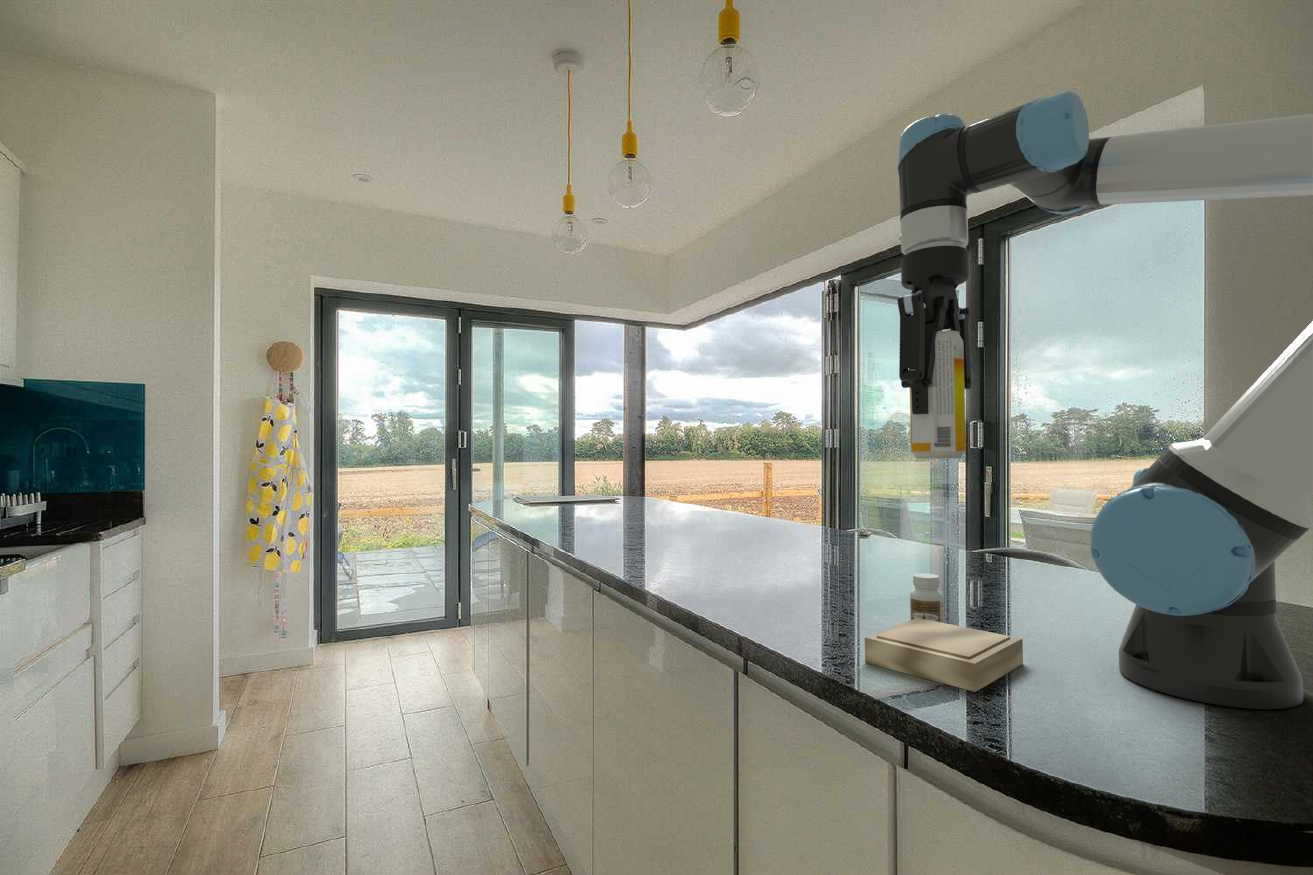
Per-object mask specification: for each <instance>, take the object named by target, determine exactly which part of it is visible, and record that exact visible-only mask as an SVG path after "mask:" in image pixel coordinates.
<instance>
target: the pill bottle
mask: <svg viewBox="0 0 1313 875" xmlns="http://www.w3.org/2000/svg"><path fill="white" fill-rule="evenodd" d="M912 584H913V586H914V588H913V589H912V590H910V592H909V603H910V604H909V609H910V610H909V611H910V614H909V615H910V617H909V618H910V620H909V621H911V620H914V619H916V618H921V619H926V620H931V621H936V622H941V623H945V613H944V612H945V609H944V608H945V606H944V605H945V604H944V600H945V599H944V593H943V591H941V590H939V588H940V584H941V583H940V576H939V575H938V574H933V573H925V572H924V573H923V572H921V573H913V575H912Z"/></svg>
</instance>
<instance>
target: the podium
mask: <svg viewBox="0 0 1313 875" xmlns="http://www.w3.org/2000/svg"><path fill="white" fill-rule="evenodd" d="M1023 642H1024V641H1023V638H1021V637H1017V636H1012V635H1011V636H1010V635H1005V634H1000V633H996V632H991V631H985V630H981V629H975V628H971V627H965V626H961V625H957V624H956V625H955V624H949V623H947V622H944V623H941V622H936V621H931V620H926V619H921V618H916V619H914V620H909V621H906V622H902V623H901V624H898V625H895V626H893V627H890V628H887V629H885V630H884V629H883V630H881V631H879V632H876V633H873V634H871V635H868V636H864V656H865V657H864V663H866V664H870V665H873V666H878V667H881V668H884V669H888V670H892V671H895V672H900V673H903V674H906V675H911V676H914V677H918V678H921V679H926V680H929V681H933V682H937V683H941V684H944V685H948V686H952V687H955V688H960V689H963V690H966V691H970V692H974V693H976V692H977V691H980V690H981V689H983V688H984V687H986V686H988V685H990V684H991V683H994V682H995V681H997V680H998V679H999V678H1002V677H1004V676H1005V675H1007V674H1008V673H1010V672H1012V671H1013V670H1015V669H1017V668H1019V667H1021V666H1023V665H1024V655H1023V654H1024V652H1023V651H1024V649H1023V647H1024V646H1023Z"/></svg>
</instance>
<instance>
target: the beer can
mask: <svg viewBox="0 0 1313 875" xmlns="http://www.w3.org/2000/svg"><path fill="white" fill-rule="evenodd" d="M944 330H945V329H944ZM928 387H936V396H937V438H938V443H912V411H911V387H910V388H909V412H910V414H909V415H910V417H909V418H910V452H911V453H912V454H913V455H914V456H915V460H916V459H917V460H918V459H920V460H921V459H923V460H926V459H929V460H932V459H933V460H935V459H936V460H938V459H939V460H940V459H941V460H942V459H943V460H944V459H945V460H946V459H948V460H949V459H962V456H963V455H964V454H965V452H967V440H966V439H967V435H966V434H967V433H966V432H967V431H966V398H965V397H966V396H965V394H966V392H965V391H966V389H965V386H964V346H963V340H962V338H961V336H960V333H959V332H958V331H949V330H945V331H938V332H937V333H936V338H935V363H934V371H933V378H932V384H931V385H930V386H928Z"/></svg>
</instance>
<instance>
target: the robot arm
mask: <svg viewBox="0 0 1313 875" xmlns="http://www.w3.org/2000/svg"><path fill="white" fill-rule="evenodd" d="M898 144H899V147H898V148H899V150H898V163H897V174H898V179H899V180H898V181H899V183H898V184H899V204H900V205H899V209H900V234H899V235H898V240H899V241H900V252H901V254H903V257H902V258H901V260H900V273H901V274H900V275H901V278H900V280H901V281H900V282H901V283H900V284H901V285H902V287H903V288H904V289H906V290H909V291H911V293H910V294H906V295H901V296H898V297H897V306H898V313H899V362H898V363H899V368H898V370H899V372H898V373H899V375H898V376H899V379H900V381H901V382H900V385H901V388H903V389H907V388H908V389H910V387H911V411H912V443H938V438H937V396H936V387H928V386H930V385H931V384H932V378H933V371H934V363H935V338H936V333H937V332H938V331H945V330H949V331H958V332H959V333H960V336H961V338H962V340H963V346H964V386H965V390H970V389H971V388H972V373H971V372H972V370H971V368H972V366H971V353H970V352H971V350H970V334H969V333H970V332H969V330H970V329H969V321H970V312H971V310H970V308H969V306H965V307H964V306H963V307H960V306H959V300H958V295H957V291H956V289H957V287H958V286H959V285H962V284H964V283H965V282H967V281H968V279H969V277H970V273H969V272H970V269H969V268H970V267H969V251H968V250H967V249H966V248H965V247H967V246H968V244H969V243H970V242H969V224H968V223H969V221H968V220H969V218H968V196H969V195H972V194H978V193H981V192H985V191H989V190H992V189H996V188H998V187H1003V186H1006V185H1010V186H1011V187H1012V188H1014V189H1015V190H1016V191H1018V192H1019V193H1021V194H1022V195H1023V196H1025V197H1027V199H1029V200H1030V201H1031V202H1032V203H1033V204H1034V205H1036V207H1038V208H1040V209H1041V210H1043V211H1046V212H1049V213H1052V214H1056V215H1069V214H1070V215H1071V214H1074V213H1077V212H1079V211H1081V210H1084V209H1085V208H1088V207H1090V206H1103V205H1105V206H1106V205H1122V204H1123V205H1125V204H1147V203H1148V204H1149V203H1151V204H1152V203H1171V202H1173V203H1174V202H1188V201H1189V202H1190V201H1194V202H1195V201H1213V200H1215V201H1216V200H1217V201H1218V200H1235V199H1237V200H1238V199H1257V198H1259V199H1260V198H1277V197H1278V198H1280V197H1285V198H1286V197H1302V196H1303V197H1304V196H1306V197H1308V196H1313V113H1308V114H1300V115H1290V116H1283V117H1281V116H1280V117H1272V118H1265V119H1255V120H1246V121H1237V122H1229V123H1228V122H1227V123H1219V124H1210V125H1202V126H1201V125H1200V126H1192V127H1184V128H1174V129H1167V130H1158V131H1157V130H1156V131H1147V132H1141V133H1140V132H1139V133H1132V134H1131V133H1130V134H1123V135H1122V134H1120V135H1113V136H1106V137H1096V138H1090V128H1089V120H1088V115H1087V112H1086V108H1085V107H1084V102H1083V100H1082V98H1081V97H1080V95H1078V94H1077V93H1076V92H1074V91H1062V92H1059V93H1055V94H1052V95H1049V96H1046V97H1039V98H1037V99H1033V100H1030V101H1029V102H1027V103H1026V104H1023V105H1020V106H1017V107H1014V108H1012V109H1010V110H1006V111H1004V112H1002V113H1001V112H1000V113H999V114H997V115H994V116H991V117H989V118H986V119H983V120H981V121H979V122H976V123H973V124H971V125H967V126H966V125H965V122H964V120H963V119H962V118H961V117H960V116H958V115H955V114H949V113H940V114H936V115H935V116H925V117H923V118H920V119H917V120H916V121H913V122H912V123H911V124H909V125H908V126H907V127H906V128H905V129H904V130H903V132H902V134H901V135H900V138H899V143H898ZM1133 475H1134V476H1133V478H1132V480H1133V481H1132V486H1131V487H1129V489H1127V490H1125V491H1121V492H1119V493H1117V495H1116V496H1113V497H1111V498H1110V499H1108V500H1107V502H1105V503H1104V505H1103V506H1102V507H1101V509H1100V510H1099V511H1098V514H1096V517H1095V519H1094V521H1093V523H1092V525H1091V526H1092V527H1091V531H1090V536H1089V546H1090V550H1091V556H1092V559H1093V561H1094V564H1095V566H1096V568H1097V570H1098V572H1099V573H1100V575H1101V577H1102V578H1103V579H1104V580H1105V582H1106V583H1107V584H1108V585H1109V586H1110V587H1111V588H1112V589H1113V590H1114V591H1115V592H1117V593H1118V594H1119V595H1120V596H1121V597H1124V598H1125V600H1128V602H1129V601H1130V602H1131V603H1133V604H1135V606H1134V609H1133V611H1132V614H1131V617H1130V619H1129V622H1128V624H1127V627H1126V629H1125V632H1124V635H1123V638H1122V641H1121V642H1120V646H1119V648H1118V670H1119V671H1120V673H1121V674H1122V675H1123V676H1124V677H1125V678H1127V679H1128V680H1130V681H1132V682H1134V683H1136V684H1139V685H1141V686H1143V687H1144V688H1148V689H1152V690H1153V691H1158V692H1161V693H1163V694H1167V695H1171V696H1174V697H1177V698H1181V699H1186V700H1190V701H1195V702H1200V703H1206V704H1209V705H1210V704H1211V705H1218V706H1224V707H1231V708H1241V709H1252V710H1253V709H1255V710H1279V709H1290V708H1294V707H1296V706H1297V707H1298V706H1300V705H1301V704H1303V702H1304V683H1303V682H1304V681H1303V676H1302V674H1301V672H1300V669H1299V666H1298V665H1297V663H1296V660H1295V659H1294V656H1293V654H1292V651H1291V649H1290V647H1289V645H1288V643H1287V641H1286V638H1285V635H1284V634H1283V631H1282V628H1281V626H1280V625H1279V621H1278V617H1277V616H1278V615H1277V590H1276V562H1275V561H1276V560H1277V559H1278V558H1280V556H1281V555H1283V553H1285V552H1286V550H1288V549H1289V548H1290V547H1291V546H1292V545H1294V544H1295V543H1296V542H1297V541H1298V540H1299V539H1300V538H1301V537H1302V536H1303V535H1305V533H1306V532H1308V531H1309V530H1310V529H1311V528H1312V527H1313V517H1312V512H1311V508H1310V501H1311V497H1313V320H1312V321H1311V322H1310V323H1309V325H1307V327H1305V329H1304V330H1303V331H1302V332H1301V333H1300V334H1299V335H1298V336H1297V337H1296V338H1295V339H1294V340H1293V341H1292V343H1290V345H1288V346H1287V348H1286V349H1285V350H1284V351H1283V352H1282V353H1281V354H1280V355H1279V356H1278V357H1277V358H1276V359H1275V360H1274V362H1272V364H1271V365H1270V366H1269V367H1268V368H1267V369H1266V370H1265V371H1264V372H1263V373H1262V374H1261V375H1260V376H1259V377H1258V379H1257V380H1256V381H1255V382H1253V384H1252V385H1251V386H1250V387H1249V388H1248V389H1247V390H1246V391H1245V393H1243V395H1241V396H1240V398H1239V399H1237V401H1236V402H1235V403H1234V404H1233V405H1232V406H1231V407H1230V408H1229V409H1228V411H1227V412H1226V413H1225V414H1224V415H1222V417H1221V418H1220V419H1219V420H1218V421H1217V422H1216V423H1215V424H1214V425H1213V426H1212V428H1211V429H1209V431H1208V432H1207V433H1206V434H1205V435H1204V436H1203V437H1202V438H1199V439H1197V440H1190V441H1189V440H1188V441H1182V442H1174V443H1171V444H1170V445H1169V446H1168V447H1167V448H1166V449H1165V450H1164V451H1163V452H1162V454H1161V455H1159V457H1158V458H1157V459H1156V460H1155V461H1154V462H1153V463H1152V464H1151V465H1150V466H1149V467H1146V468H1141V469H1139V470H1138V471H1136V472H1135V473H1134V474H1133Z"/></svg>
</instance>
